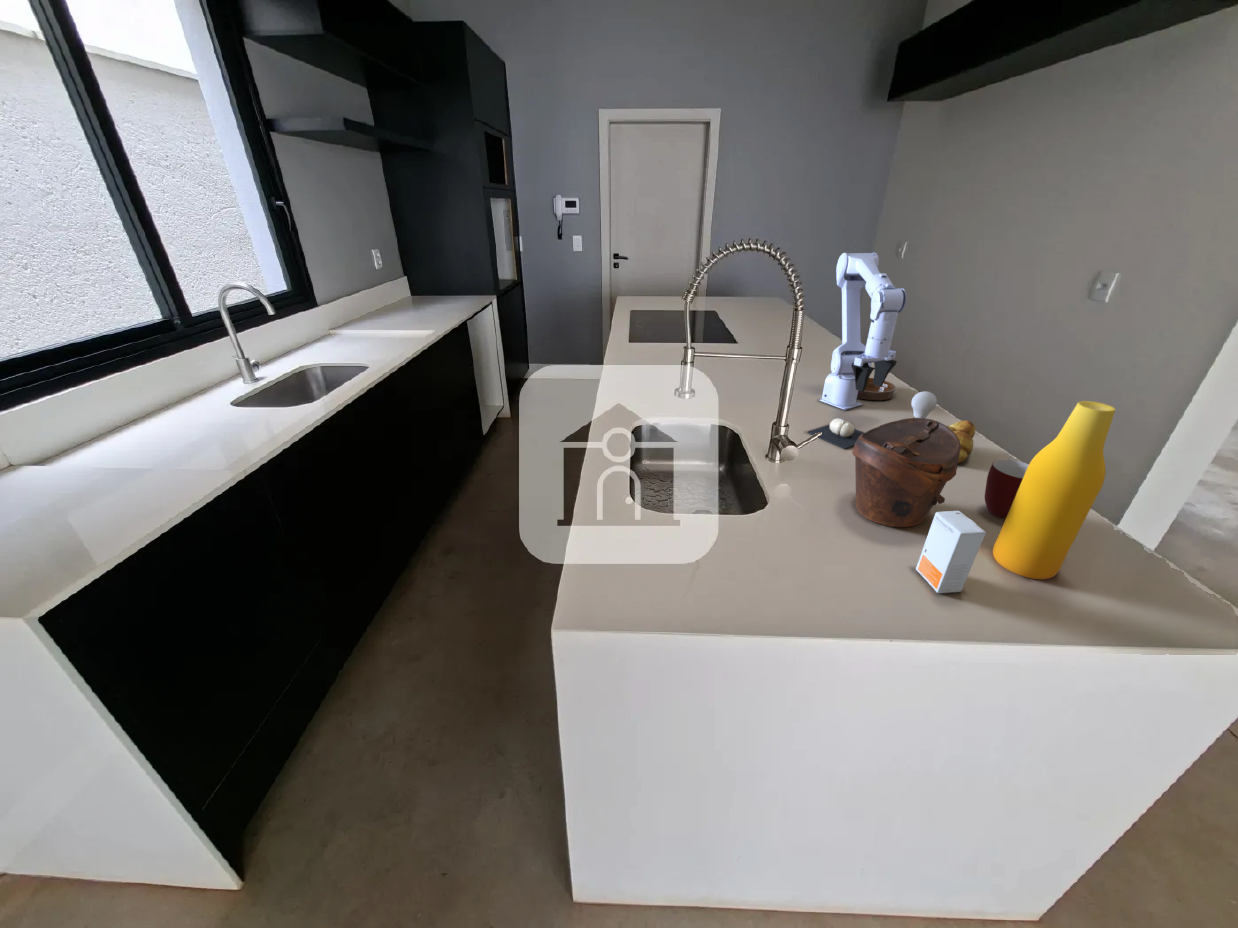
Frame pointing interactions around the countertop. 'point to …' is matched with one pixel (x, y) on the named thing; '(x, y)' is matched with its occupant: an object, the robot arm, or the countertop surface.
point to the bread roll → (964, 437)
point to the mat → (837, 437)
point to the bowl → (877, 391)
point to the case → (903, 470)
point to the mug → (1003, 485)
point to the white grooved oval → (842, 427)
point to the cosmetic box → (949, 551)
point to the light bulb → (923, 404)
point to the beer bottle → (1056, 495)
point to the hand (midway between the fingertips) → (868, 387)
